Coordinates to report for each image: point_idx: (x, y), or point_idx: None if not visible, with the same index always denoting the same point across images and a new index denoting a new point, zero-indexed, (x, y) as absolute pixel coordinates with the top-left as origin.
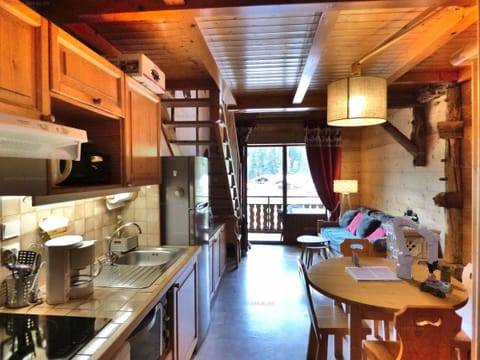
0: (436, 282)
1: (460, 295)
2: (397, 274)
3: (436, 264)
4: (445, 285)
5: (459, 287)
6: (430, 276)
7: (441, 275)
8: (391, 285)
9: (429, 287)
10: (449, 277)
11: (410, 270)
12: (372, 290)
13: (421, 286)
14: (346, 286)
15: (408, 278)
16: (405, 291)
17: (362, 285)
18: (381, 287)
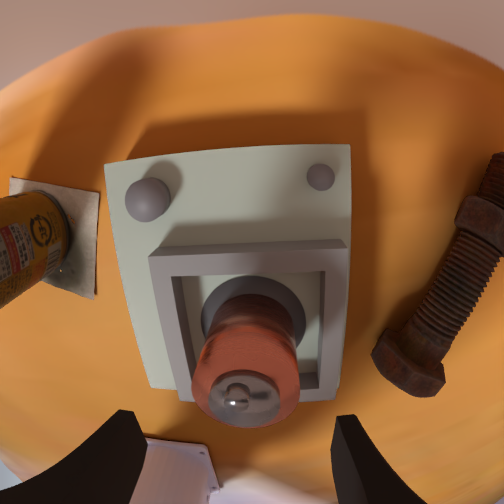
0: (183, 296)
1: (318, 34)
2: (207, 497)
3: (69, 498)
4: (220, 191)
5: (64, 103)
6: (296, 400)
7: (19, 289)
8: (405, 465)
9: (471, 309)
10: (3, 209)
11: (163, 495)
12: (497, 456)
13: (440, 366)
14: (477, 495)
15: (200, 455)
16: (476, 395)
17: (453, 492)
18: (454, 465)
